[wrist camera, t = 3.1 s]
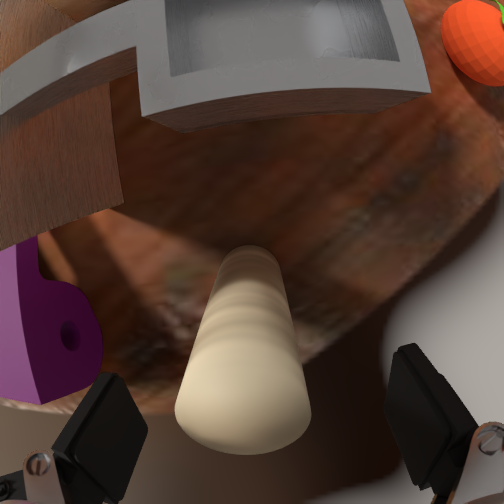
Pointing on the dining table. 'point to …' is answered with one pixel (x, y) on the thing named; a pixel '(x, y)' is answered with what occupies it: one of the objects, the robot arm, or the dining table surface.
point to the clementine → (475, 40)
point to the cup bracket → (177, 84)
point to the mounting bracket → (43, 331)
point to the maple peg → (245, 362)
